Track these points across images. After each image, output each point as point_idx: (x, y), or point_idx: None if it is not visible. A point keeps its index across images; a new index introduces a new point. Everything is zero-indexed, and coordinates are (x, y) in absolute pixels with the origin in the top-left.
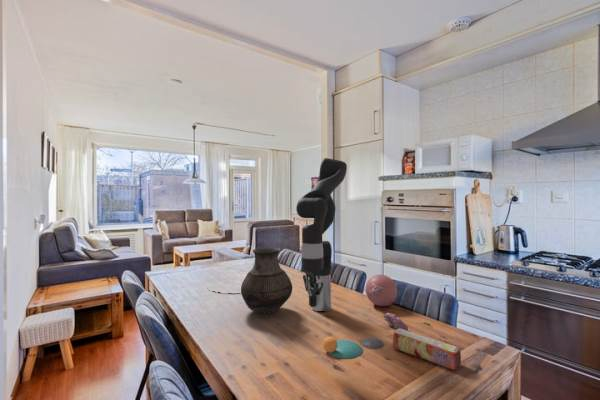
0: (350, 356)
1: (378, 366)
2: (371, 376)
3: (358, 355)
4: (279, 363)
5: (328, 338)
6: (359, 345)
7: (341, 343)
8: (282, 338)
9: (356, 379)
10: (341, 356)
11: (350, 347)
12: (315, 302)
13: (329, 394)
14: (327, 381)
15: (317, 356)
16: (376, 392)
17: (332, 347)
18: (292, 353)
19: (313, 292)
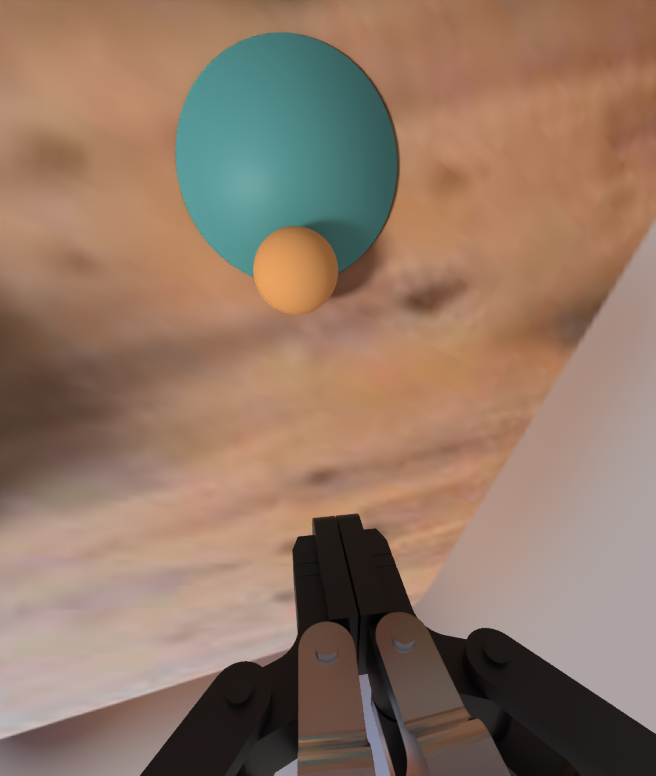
0: (383, 185)
1: (521, 84)
2: (559, 182)
3: (392, 130)
4: (308, 499)
5: (302, 292)
6: (289, 36)
7: (227, 152)
8: (79, 452)
9: (538, 262)
10: (364, 235)
11: (293, 121)
12: (392, 561)
13: (547, 394)
14: (489, 375)
15: (312, 346)
16: (637, 231)
17: (337, 278)
18: (248, 440)
19: (540, 759)
